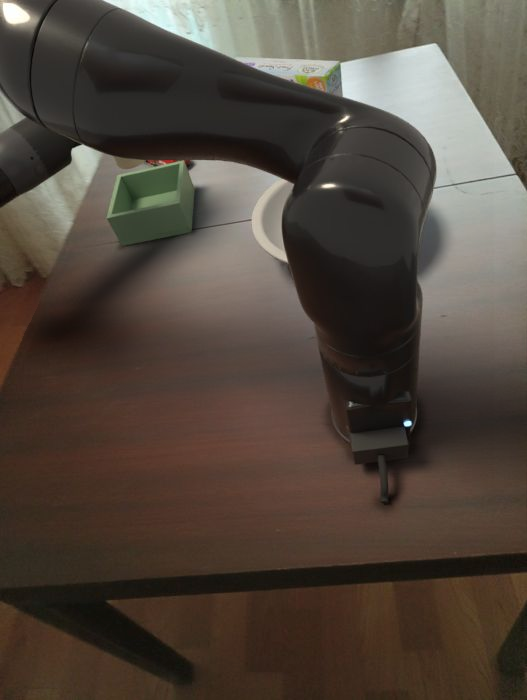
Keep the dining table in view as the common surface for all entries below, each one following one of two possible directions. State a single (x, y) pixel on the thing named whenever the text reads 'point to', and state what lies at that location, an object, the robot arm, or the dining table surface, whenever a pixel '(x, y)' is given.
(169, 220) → the bin
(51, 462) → the dining table surface
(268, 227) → the soup bowl
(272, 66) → the snack box
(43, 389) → the dining table surface
